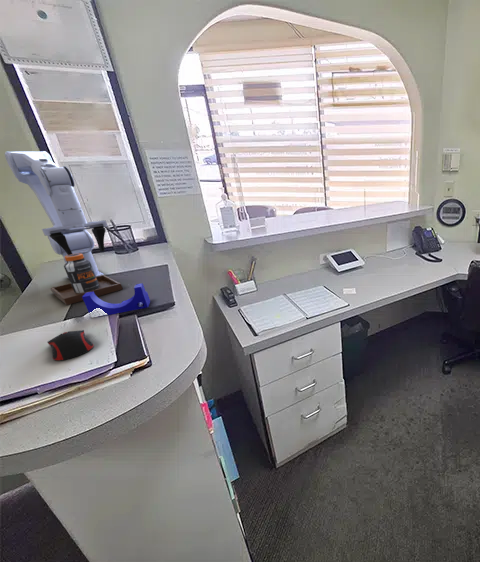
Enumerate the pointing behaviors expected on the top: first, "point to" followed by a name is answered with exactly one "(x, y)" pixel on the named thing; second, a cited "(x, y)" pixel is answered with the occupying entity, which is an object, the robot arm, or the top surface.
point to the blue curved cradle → (133, 303)
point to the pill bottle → (80, 273)
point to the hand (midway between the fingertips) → (87, 253)
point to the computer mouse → (70, 345)
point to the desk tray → (70, 296)
